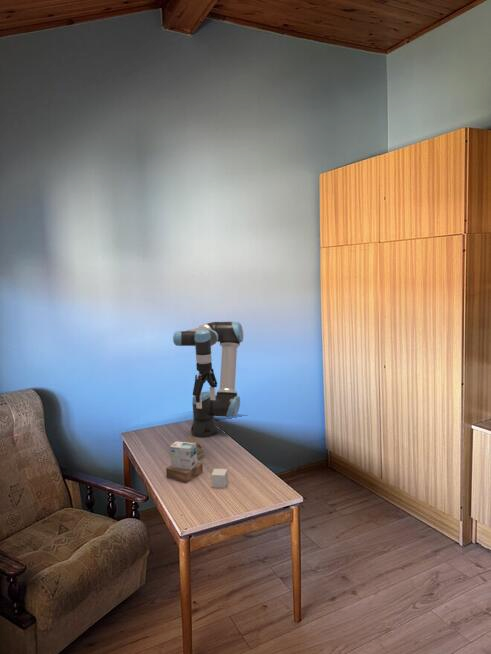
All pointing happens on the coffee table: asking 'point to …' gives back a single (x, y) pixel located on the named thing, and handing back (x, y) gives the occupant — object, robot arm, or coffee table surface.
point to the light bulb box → (183, 455)
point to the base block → (184, 473)
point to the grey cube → (219, 478)
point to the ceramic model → (198, 446)
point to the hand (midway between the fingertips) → (206, 404)
